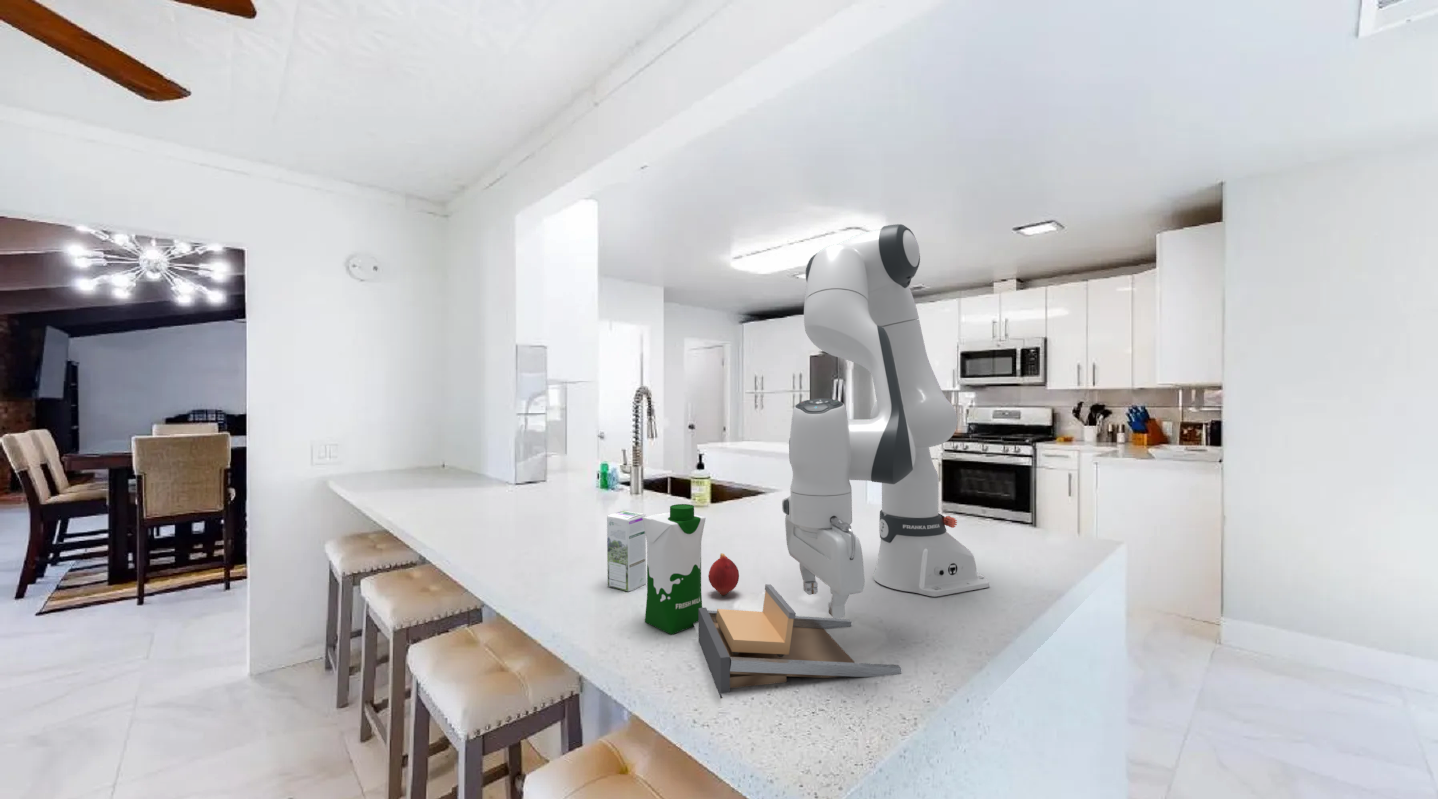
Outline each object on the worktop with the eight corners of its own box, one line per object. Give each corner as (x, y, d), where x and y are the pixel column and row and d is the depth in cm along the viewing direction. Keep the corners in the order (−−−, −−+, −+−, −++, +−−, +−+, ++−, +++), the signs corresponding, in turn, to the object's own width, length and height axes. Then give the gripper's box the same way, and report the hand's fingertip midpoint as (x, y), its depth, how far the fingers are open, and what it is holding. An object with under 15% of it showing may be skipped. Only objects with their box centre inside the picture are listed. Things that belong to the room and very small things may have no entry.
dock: (848, 632, 95) (848, 596, 94) (901, 684, 78) (901, 640, 78) (698, 646, 90) (698, 608, 89) (720, 704, 73) (720, 657, 73)
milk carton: (670, 638, 90) (670, 512, 90) (636, 622, 97) (636, 504, 97) (711, 622, 97) (710, 504, 96) (676, 608, 103) (676, 497, 103)
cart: (770, 626, 89) (770, 583, 89) (795, 660, 78) (795, 612, 78) (715, 631, 87) (715, 587, 87) (732, 666, 76) (732, 617, 76)
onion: (739, 590, 112) (739, 549, 112) (737, 601, 107) (737, 558, 106) (710, 589, 113) (710, 548, 113) (706, 599, 107) (706, 557, 107)
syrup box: (647, 584, 116) (647, 512, 116) (627, 592, 111) (627, 518, 111) (625, 579, 119) (625, 509, 119) (605, 587, 114) (605, 514, 114)
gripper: (875, 524, 74) (877, 630, 75) (814, 496, 94) (816, 580, 94) (830, 528, 73) (832, 636, 73) (778, 499, 93) (779, 583, 93)
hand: (822, 604), depth 84 cm, fingers open, 8 cm apart
